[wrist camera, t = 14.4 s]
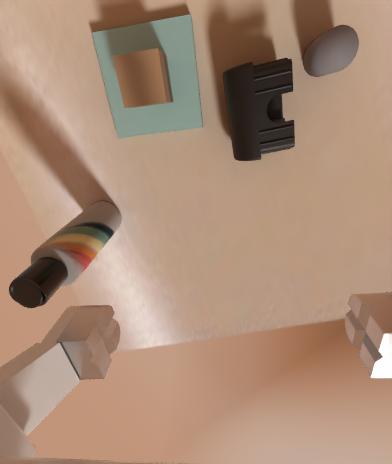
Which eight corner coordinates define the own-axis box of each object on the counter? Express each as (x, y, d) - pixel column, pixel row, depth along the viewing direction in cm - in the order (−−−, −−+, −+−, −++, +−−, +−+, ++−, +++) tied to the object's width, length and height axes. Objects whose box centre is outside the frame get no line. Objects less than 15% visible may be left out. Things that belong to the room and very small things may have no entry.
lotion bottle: (97, 233, 44) (17, 321, 26) (83, 204, 42) (-16, 278, 24) (127, 227, 43) (63, 314, 25) (114, 196, 41) (34, 268, 23)
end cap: (221, 75, 32) (222, 69, 26) (278, 61, 31) (293, 50, 25) (232, 154, 36) (235, 164, 30) (283, 144, 35) (296, 152, 29)
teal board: (191, 17, 29) (190, 14, 28) (203, 126, 35) (202, 127, 34) (96, 35, 31) (91, 32, 30) (121, 137, 36) (118, 138, 35)
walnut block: (166, 56, 30) (157, 48, 26) (173, 102, 33) (166, 101, 28) (127, 62, 31) (112, 55, 27) (136, 107, 33) (124, 107, 29)
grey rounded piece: (339, 34, 29) (361, 21, 25) (335, 74, 31) (355, 69, 26) (304, 40, 30) (319, 28, 25) (301, 79, 31) (315, 75, 27)
